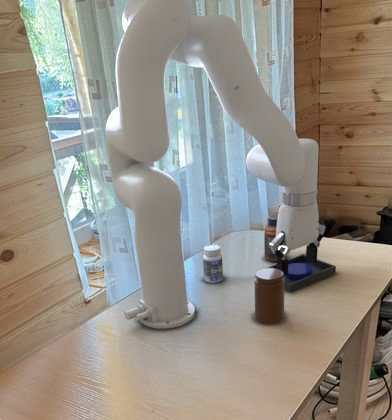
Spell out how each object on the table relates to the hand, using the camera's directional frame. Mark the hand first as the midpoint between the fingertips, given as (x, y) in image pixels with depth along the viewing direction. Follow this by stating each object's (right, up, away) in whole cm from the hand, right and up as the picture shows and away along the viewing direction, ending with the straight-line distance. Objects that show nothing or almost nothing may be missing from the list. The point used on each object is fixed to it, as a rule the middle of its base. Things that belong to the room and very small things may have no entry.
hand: (297, 267), depth 126 cm
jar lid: (0, -1, 0) cm, 1 cm away
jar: (-9, -13, -15) cm, 22 cm away
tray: (0, -2, +1) cm, 2 cm away
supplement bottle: (-3, +4, +12) cm, 13 cm away
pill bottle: (-20, -3, +3) cm, 21 cm away
